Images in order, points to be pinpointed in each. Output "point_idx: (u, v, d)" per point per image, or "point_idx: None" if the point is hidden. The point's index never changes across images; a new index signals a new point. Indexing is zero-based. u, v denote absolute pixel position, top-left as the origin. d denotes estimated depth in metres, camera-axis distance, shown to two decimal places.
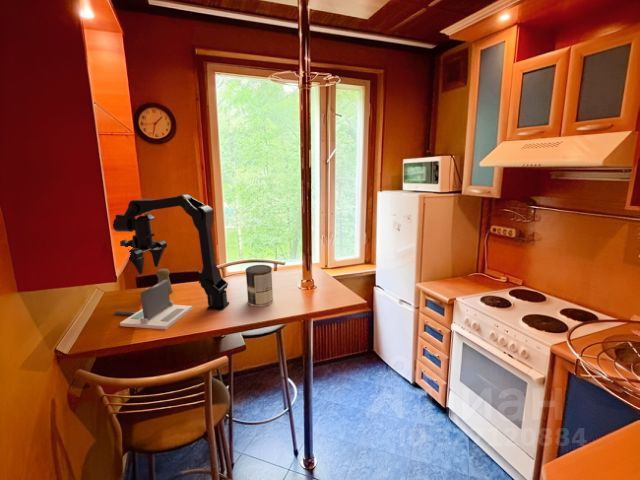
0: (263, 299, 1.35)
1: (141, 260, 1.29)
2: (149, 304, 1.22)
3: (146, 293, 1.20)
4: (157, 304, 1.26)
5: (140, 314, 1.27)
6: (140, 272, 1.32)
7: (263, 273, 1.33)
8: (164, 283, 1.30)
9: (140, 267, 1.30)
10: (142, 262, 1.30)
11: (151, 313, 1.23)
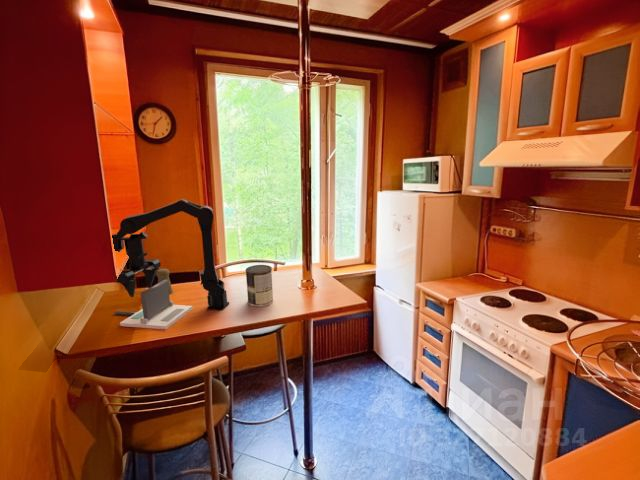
0: (263, 299, 1.35)
1: (132, 283, 1.19)
2: (149, 304, 1.22)
3: (146, 293, 1.20)
4: (157, 304, 1.26)
5: (140, 314, 1.27)
6: (131, 295, 1.22)
7: (263, 273, 1.33)
8: (164, 283, 1.30)
9: (131, 290, 1.21)
10: (134, 285, 1.20)
11: (151, 313, 1.23)
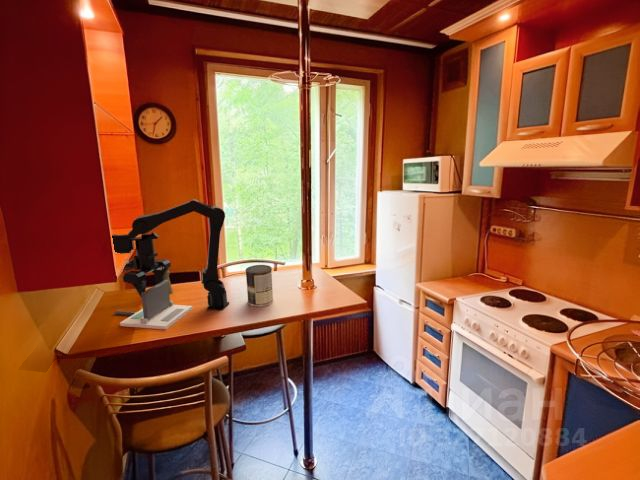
0: (263, 299, 1.35)
1: (143, 283, 1.18)
2: (150, 304, 1.22)
3: (147, 293, 1.20)
4: (158, 304, 1.26)
5: (140, 314, 1.27)
6: None
7: (263, 273, 1.33)
8: (165, 283, 1.30)
9: (142, 290, 1.20)
10: (144, 285, 1.19)
11: (151, 313, 1.23)
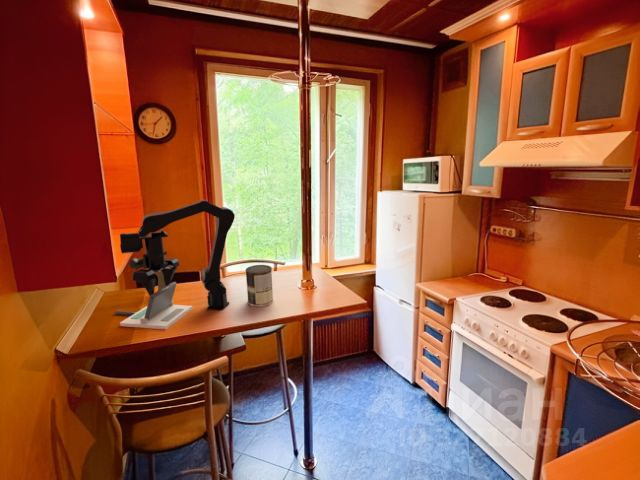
0: (263, 299, 1.35)
1: (153, 282, 1.17)
2: (154, 306, 1.22)
3: (156, 296, 1.20)
4: (160, 306, 1.26)
5: (140, 314, 1.27)
6: (151, 294, 1.20)
7: (263, 273, 1.33)
8: (173, 286, 1.29)
9: (151, 289, 1.19)
10: (153, 284, 1.18)
11: (152, 314, 1.23)
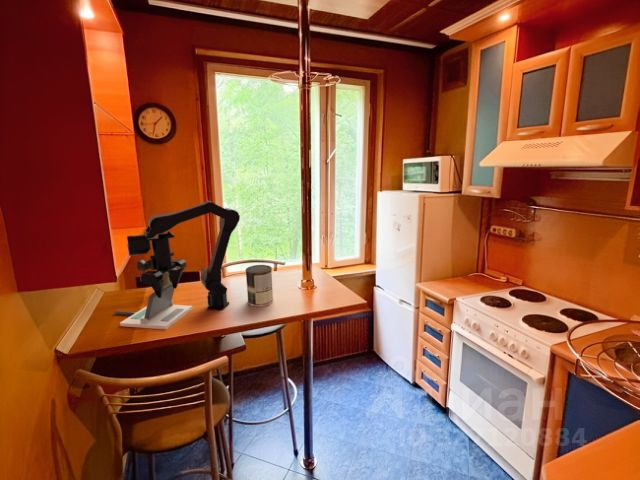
0: (263, 299, 1.35)
1: (161, 283, 1.17)
2: (154, 306, 1.22)
3: (155, 296, 1.20)
4: (160, 306, 1.26)
5: (140, 314, 1.27)
6: (159, 296, 1.20)
7: (263, 273, 1.33)
8: (172, 286, 1.29)
9: (159, 290, 1.19)
10: (162, 285, 1.18)
11: (152, 314, 1.23)
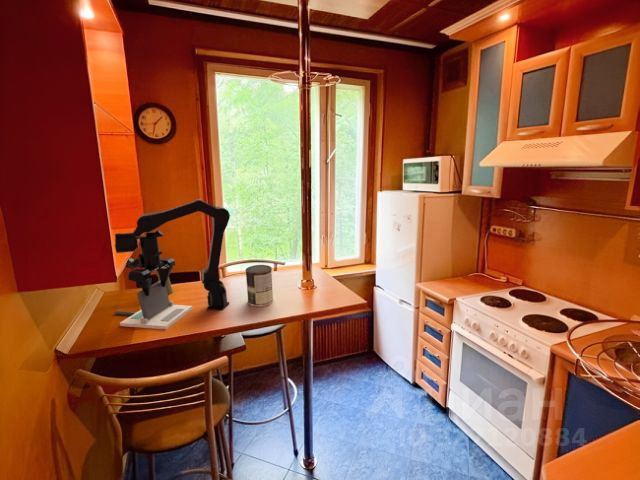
0: (263, 299, 1.35)
1: (148, 281, 1.18)
2: (147, 304, 1.22)
3: (143, 293, 1.20)
4: (156, 304, 1.26)
5: (140, 314, 1.27)
6: (147, 294, 1.21)
7: (263, 273, 1.33)
8: None
9: (147, 288, 1.19)
10: (149, 283, 1.19)
11: (150, 313, 1.23)
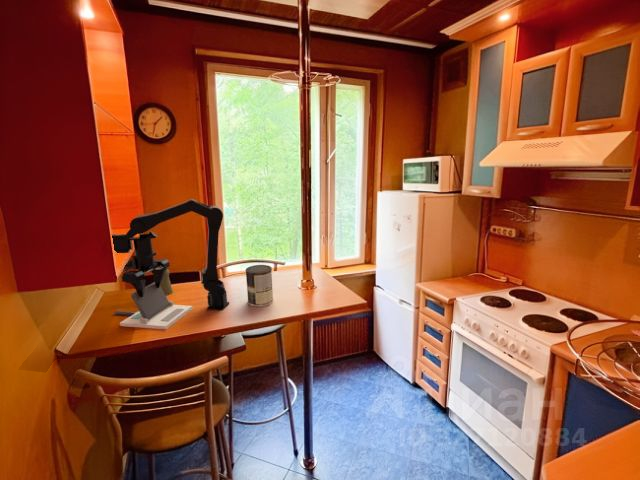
0: (263, 299, 1.35)
1: (142, 283, 1.18)
2: (144, 304, 1.22)
3: (137, 294, 1.21)
4: (154, 304, 1.26)
5: (140, 314, 1.27)
6: (141, 295, 1.21)
7: (263, 273, 1.33)
8: None
9: (141, 290, 1.20)
10: (143, 285, 1.19)
11: (149, 312, 1.23)
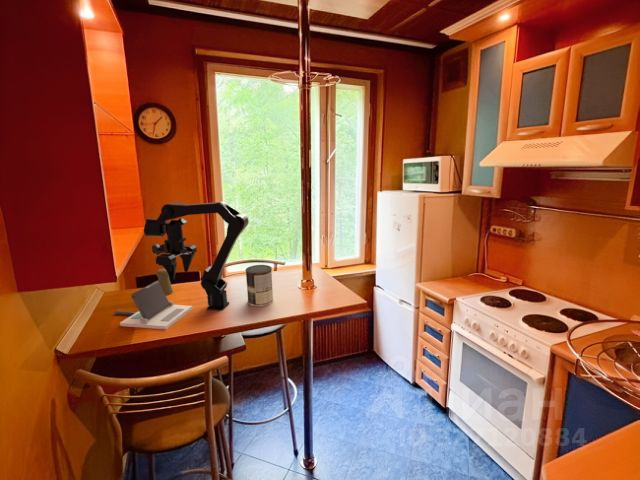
0: (263, 299, 1.35)
1: (174, 265, 1.26)
2: (144, 304, 1.22)
3: (136, 294, 1.21)
4: (154, 304, 1.26)
5: (140, 314, 1.27)
6: (172, 277, 1.29)
7: (263, 273, 1.33)
8: (155, 284, 1.31)
9: (172, 272, 1.28)
10: (175, 267, 1.27)
11: (149, 312, 1.23)
